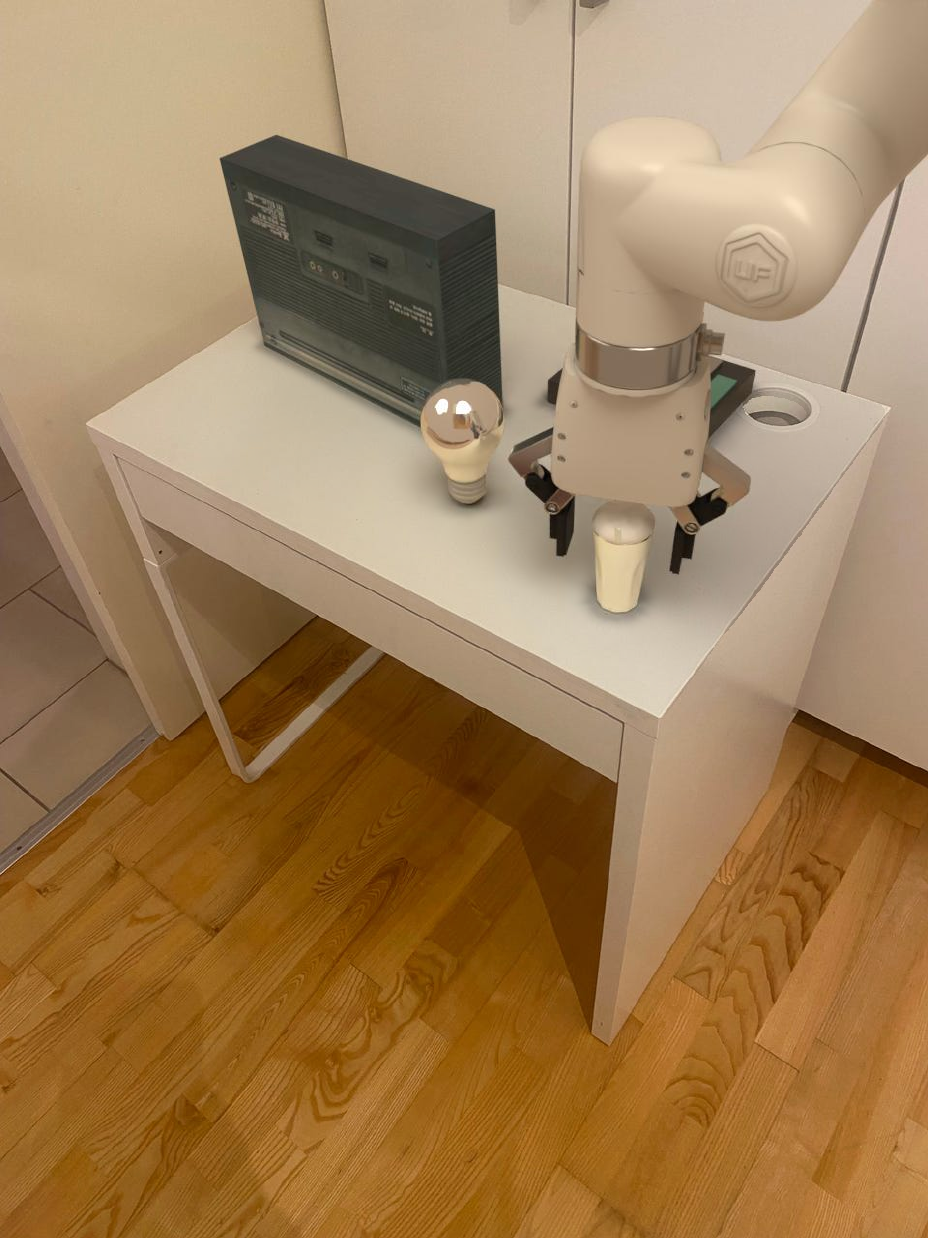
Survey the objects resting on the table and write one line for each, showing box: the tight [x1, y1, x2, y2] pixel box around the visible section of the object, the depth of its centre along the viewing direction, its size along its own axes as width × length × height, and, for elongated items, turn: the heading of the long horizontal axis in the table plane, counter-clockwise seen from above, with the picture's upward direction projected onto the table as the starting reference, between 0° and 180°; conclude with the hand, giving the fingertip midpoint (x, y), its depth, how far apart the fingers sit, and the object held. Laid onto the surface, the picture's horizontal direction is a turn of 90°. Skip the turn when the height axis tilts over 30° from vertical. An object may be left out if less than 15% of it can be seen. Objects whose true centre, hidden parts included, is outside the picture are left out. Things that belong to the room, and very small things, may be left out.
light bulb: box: [420, 378, 505, 505], centre depth 81 cm, size 7×7×12 cm
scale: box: [547, 355, 757, 439], centre depth 93 cm, size 16×12×3 cm
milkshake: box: [591, 500, 656, 614], centre depth 72 cm, size 5×5×10 cm
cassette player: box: [219, 134, 504, 428], centre depth 93 cm, size 29×7×20 cm, turn 47°
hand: (620, 551), depth 71 cm, fingers open, 7 cm apart
